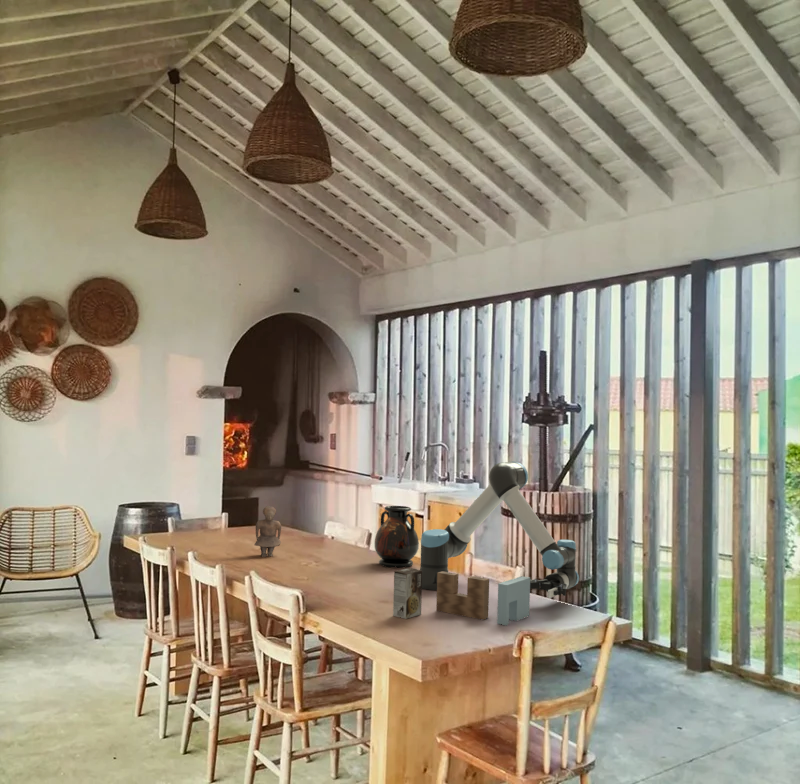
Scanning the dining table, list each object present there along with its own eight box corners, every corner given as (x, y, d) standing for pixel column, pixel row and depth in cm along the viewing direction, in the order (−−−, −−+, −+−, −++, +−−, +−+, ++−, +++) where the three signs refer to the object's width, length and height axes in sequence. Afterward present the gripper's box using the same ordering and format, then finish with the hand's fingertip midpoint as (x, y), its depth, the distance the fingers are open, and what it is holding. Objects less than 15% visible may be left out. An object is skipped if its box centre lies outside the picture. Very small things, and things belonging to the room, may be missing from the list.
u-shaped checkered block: (436, 610, 295) (437, 572, 295) (441, 608, 298) (442, 571, 298) (483, 619, 283) (484, 580, 283) (488, 618, 286) (489, 579, 286)
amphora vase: (426, 565, 386) (428, 507, 387) (401, 571, 368) (403, 510, 369) (390, 559, 398) (392, 503, 399) (364, 565, 380) (366, 506, 381)
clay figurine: (255, 558, 389) (257, 507, 390) (252, 554, 399) (254, 504, 399) (281, 557, 393) (283, 507, 394) (278, 554, 403) (279, 504, 404)
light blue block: (497, 623, 278) (498, 583, 279) (520, 614, 293) (521, 576, 293) (506, 625, 276) (507, 585, 277) (529, 616, 291) (530, 577, 291)
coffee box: (407, 611, 292) (409, 567, 292) (421, 614, 288) (423, 570, 288) (392, 615, 285) (393, 570, 285) (406, 619, 281) (407, 573, 281)
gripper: (585, 597, 306) (562, 607, 289) (526, 587, 320) (501, 596, 303) (586, 577, 306) (563, 586, 289) (527, 568, 321) (502, 576, 303)
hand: (531, 591), depth 296 cm, fingers open, 13 cm apart
